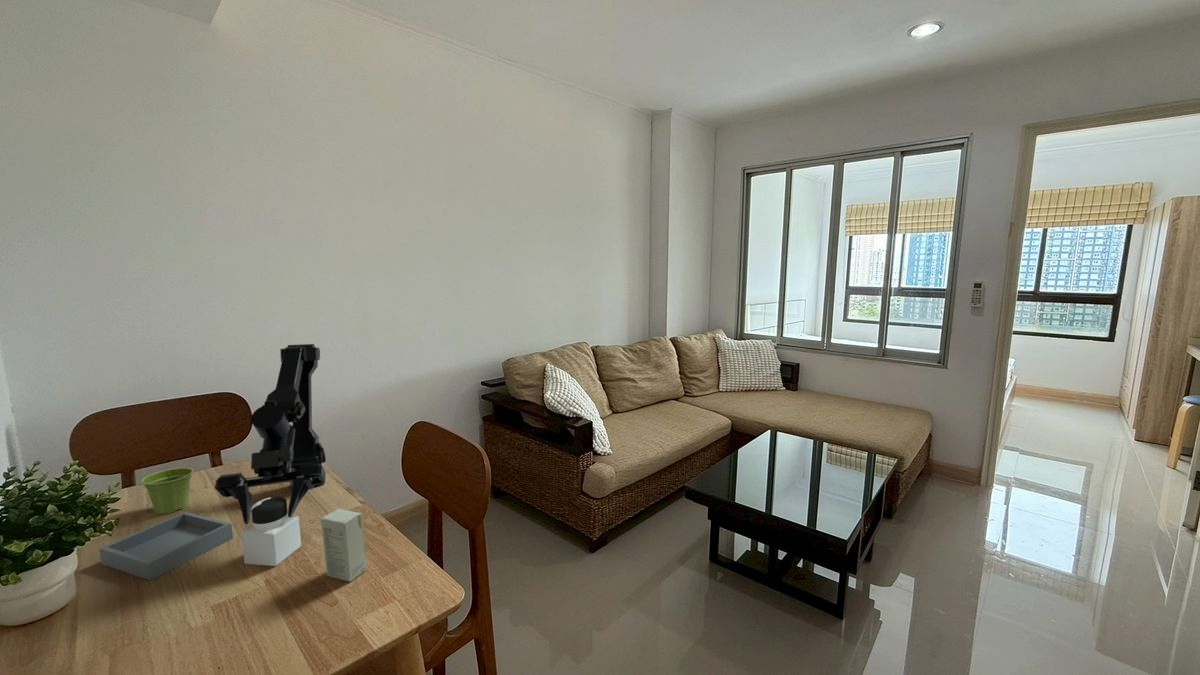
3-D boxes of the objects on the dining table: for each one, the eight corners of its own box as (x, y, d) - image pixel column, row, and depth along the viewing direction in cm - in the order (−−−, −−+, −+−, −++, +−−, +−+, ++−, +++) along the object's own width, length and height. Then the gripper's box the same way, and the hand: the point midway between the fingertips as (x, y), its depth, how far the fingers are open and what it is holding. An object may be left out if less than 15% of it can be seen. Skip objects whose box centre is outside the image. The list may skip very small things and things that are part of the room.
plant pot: (156, 503, 118) (152, 470, 116) (203, 496, 121) (199, 464, 120) (137, 521, 109) (132, 486, 108) (188, 513, 113) (184, 479, 112)
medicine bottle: (302, 546, 100) (297, 494, 99) (276, 567, 93) (270, 511, 92) (271, 544, 101) (266, 492, 99) (243, 564, 94) (237, 509, 92)
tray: (187, 525, 108) (185, 511, 107) (232, 538, 103) (231, 523, 102) (101, 564, 93) (99, 548, 93) (150, 580, 89) (147, 563, 88)
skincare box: (368, 569, 93) (364, 512, 91) (350, 583, 89) (345, 523, 87) (343, 562, 95) (339, 506, 93) (324, 575, 91) (320, 517, 89)
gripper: (213, 438, 94) (195, 516, 85) (319, 427, 101) (313, 498, 92) (231, 460, 102) (217, 533, 93) (328, 449, 109) (323, 516, 100)
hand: (268, 520), depth 95 cm, fingers open, 7 cm apart
